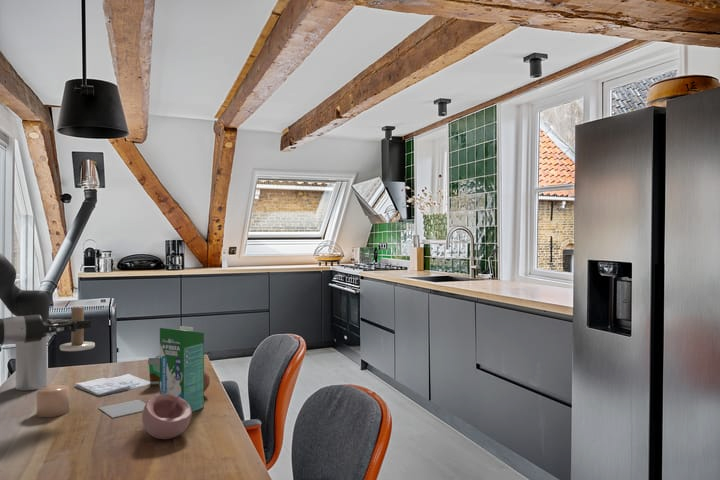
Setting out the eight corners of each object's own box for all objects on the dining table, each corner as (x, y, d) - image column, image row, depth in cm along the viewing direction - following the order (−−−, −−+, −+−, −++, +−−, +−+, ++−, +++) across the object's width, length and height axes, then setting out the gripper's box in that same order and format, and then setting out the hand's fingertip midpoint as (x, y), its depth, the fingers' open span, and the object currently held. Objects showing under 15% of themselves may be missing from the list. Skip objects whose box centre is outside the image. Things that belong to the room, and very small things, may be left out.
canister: (33, 412, 159) (33, 388, 159) (64, 406, 165) (64, 383, 165) (40, 419, 153) (40, 394, 153) (72, 412, 159) (72, 389, 159)
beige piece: (56, 347, 160) (56, 307, 160) (89, 343, 166) (89, 304, 166) (64, 352, 153) (64, 310, 153) (98, 348, 160) (99, 307, 160)
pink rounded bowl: (162, 450, 131) (162, 403, 131) (132, 440, 138) (132, 395, 138) (201, 435, 142) (201, 391, 142) (170, 426, 148) (171, 384, 148)
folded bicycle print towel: (73, 388, 187) (73, 381, 187) (130, 376, 203) (130, 370, 203) (98, 398, 175) (98, 392, 175) (156, 385, 190) (156, 379, 190)
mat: (98, 408, 163) (98, 407, 163) (138, 400, 171) (138, 399, 171) (112, 418, 154) (112, 417, 154) (154, 409, 163) (154, 408, 163)
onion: (173, 398, 173) (173, 367, 173) (191, 391, 182) (191, 361, 182) (197, 402, 170) (197, 370, 170) (215, 394, 179) (215, 363, 179)
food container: (163, 388, 185) (164, 359, 185) (147, 387, 186) (147, 358, 186) (182, 379, 197) (182, 351, 197) (167, 378, 199) (167, 350, 198)
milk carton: (204, 407, 165) (204, 325, 164) (182, 416, 156) (182, 329, 156) (181, 403, 168) (181, 323, 168) (159, 411, 160) (159, 327, 160)
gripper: (27, 319, 145) (95, 313, 157) (16, 313, 155) (81, 308, 167) (27, 347, 145) (95, 339, 157) (16, 339, 155) (81, 332, 167)
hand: (88, 323), depth 162 cm, fingers closed on beige piece, 3 cm apart
